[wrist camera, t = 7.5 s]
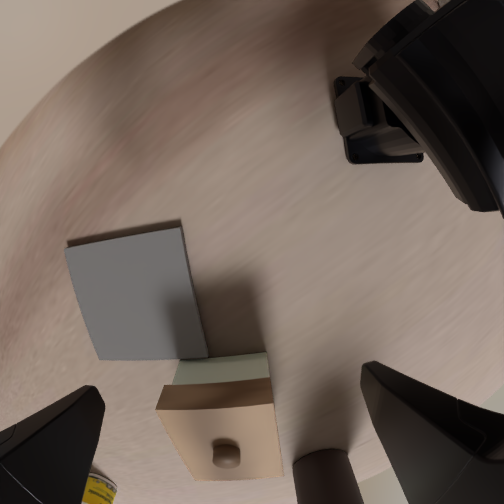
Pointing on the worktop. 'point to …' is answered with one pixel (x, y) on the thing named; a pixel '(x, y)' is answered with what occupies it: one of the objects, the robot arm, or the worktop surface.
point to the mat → (138, 296)
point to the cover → (223, 429)
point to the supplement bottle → (99, 490)
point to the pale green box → (222, 369)
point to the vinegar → (326, 479)
